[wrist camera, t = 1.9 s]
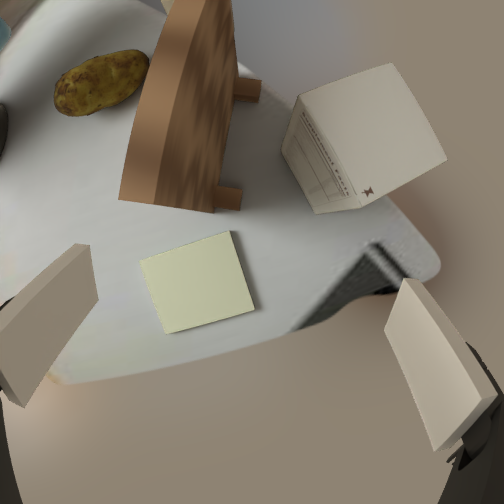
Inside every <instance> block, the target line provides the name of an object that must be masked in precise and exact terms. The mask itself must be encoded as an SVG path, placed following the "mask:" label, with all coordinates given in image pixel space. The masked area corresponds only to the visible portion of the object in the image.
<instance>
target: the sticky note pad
mask: <svg viewBox="0 0 504 504" xmlns="http://www.w3.org/2000/svg"><path fill="white" fill-rule="evenodd" d="M139 263H140V266H141V269H142V272H143V275H144V278H145V281H146V284H147V286H148V289H149V292H150V295H151V297H152V300H153V303H154V305H155V308H156V311H157V313H158V316H159V318H160V321H161V324H162V326H163V329H164V331H165V333H166V334H169V333H173V332H177V331H181V330H185V329H188V328H192V327H196V326H200V325H203V324H207V323H211V322H214V321H218V320H221V319H225V318H228V317H232V316H235V315H239V314H242V313H246V312H249V311H252V310H255V307H254V304H253V301H252V298H251V295H250V292H249V289H248V286H247V283H246V279H245V276H244V273H243V270H242V267H241V264H240V261H239V258H238V255H237V252H236V249H235V246H234V243H233V240H232V236H231V233H230V231H227V232H223V233H220V234H217V235H214V236H211V237H208V238H205V239H202V240H199V241H196V242H193V243H190V244H187V245H184V246H181V247H178V248H175V249H172V250H169V251H166V252H163V253H160V254H157V255H155V256H152V257H149V258H146V259H143V260H140V261H139Z"/></svg>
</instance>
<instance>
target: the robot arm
mask: <svg viewBox="0 0 504 504" xmlns="http://www.w3.org/2000/svg"><path fill="white" fill-rule="evenodd" d="M10 36H11V29H10V27H9V26H8V25H7V24H6V22H5V21H4V20H3V19H2V18H1V17H0V51H1V50H2V48H3V47H4V46H5V44H6V43H7V42H8V40H9V38H10ZM7 127H8V118H7V113H6V110H5V108H4V107H3V106H2V105H1V104H0V155H1V153H2V150H3V147H4V144H5V140H6V135H7ZM97 302H98V294H97V289H96V284H95V278H94V272H93V266H92V259H91V252H90V245H83V244H74V245H73V246H72V247H71V248H69V249H68V250H67V251H66V252H65V253H63V254H62V255H61V256H60V257H59V258H57V259H56V260H55V261H54V262H53V263H52V264H50V265H49V266H48V267H47V268H46V269H45V270H43V271H42V272H41V273H40V274H39V275H38V276H37V277H36V278H34V279H33V280H32V281H31V282H30V283H29V284H28V285H27V286H26V287H25V288H24V289H23V290H21V291H20V292H19V293H18V294H17V295H16V296H15V297H13V298H11V299H9V300H8V301H6V302H5V303H4V304H3V305H2V306H1V307H0V391H1V390H3V392H4V393H5V395H6V396H7V397H8V399H9V401H11V402H13V403H15V404H17V405H19V406H21V407H23V408H25V406H26V405H27V403H28V401H29V400H30V398H31V396H32V395H33V393H34V391H35V390H36V388H37V387H38V385H39V384H40V382H41V381H42V379H43V377H44V376H45V374H46V373H47V371H48V370H49V368H50V367H51V365H52V364H53V362H54V361H55V359H56V358H57V357H58V355H59V354H60V352H61V351H62V349H63V348H64V346H65V345H66V344H67V342H68V341H69V339H70V338H71V337H72V335H73V334H74V332H75V331H76V330H77V328H78V327H79V325H80V324H81V323H82V321H83V320H84V319H85V317H86V316H87V315H88V313H89V312H90V311H91V309H92V308H93V307H94V305H95V304H96V303H97ZM384 331H385V333H386V336H387V338H388V340H389V342H390V344H391V346H392V348H393V351H394V353H395V355H396V357H397V360H398V362H399V364H400V366H401V368H402V371H403V373H404V376H405V378H406V380H407V383H408V385H409V387H410V390H411V392H412V395H413V397H414V400H415V402H416V405H417V407H418V410H419V412H420V414H421V418H422V420H423V423H424V425H425V428H426V431H427V434H428V436H429V439H430V442H431V445H432V448H433V450H434V452H437V451H441V450H444V449H447V448H451V447H452V446H453V445H454V444H455V443H456V442H457V441H458V440H459V439H460V438H462V440H463V443H464V444H463V445H462V446H461V447H460V448H459V449H458V450H457V451H456V452H454V453H453V454H452V455H451V456H450V457H449V458H448V460H447V463H449V462H450V461H451V460H452V459H454V458H455V457H456V459H455V462H454V463H452V465H453V468H452V470H451V473H450V475H449V478H448V481H447V483H446V486H445V488H444V490H443V493H442V495H441V497H440V500H439V502H438V504H504V394H503V392H502V391H501V389H500V387H499V386H498V384H497V382H496V381H495V379H494V378H493V376H492V374H491V373H490V371H489V370H487V367H486V365H485V364H484V362H482V359H481V357H480V356H479V354H478V353H477V352H476V350H475V349H474V348H472V346H470V345H469V344H468V343H467V342H465V341H464V340H463V339H462V337H461V336H460V334H459V333H458V331H457V330H456V328H455V327H454V326H453V324H452V323H451V322H450V320H449V319H448V317H447V316H446V315H445V313H444V312H443V311H442V309H441V308H440V307H439V305H438V304H437V303H436V301H435V300H434V299H433V297H432V296H431V295H430V294H429V292H428V291H427V290H426V289H425V287H424V286H423V285H422V283H421V282H420V281H419V280H418V279H409V278H404V279H403V281H402V284H401V287H400V290H399V293H398V296H397V298H396V301H395V303H394V306H393V309H392V311H391V314H390V317H389V319H388V321H387V324H386V326H385V329H384ZM0 504H23V503H22V500H21V497H20V494H19V490H18V487H17V483H16V479H15V475H14V471H13V468H12V463H11V458H10V454H9V449H8V443H7V438H6V432H5V425H4V418H3V410H2V402H1V398H0Z"/></svg>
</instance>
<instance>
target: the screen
mask: <svg viewBox="0 0 504 504" xmlns="http://www.w3.org/2000/svg"><path fill="white" fill-rule="evenodd" d="M261 81H262V80H255V79H248V78H239V73H238V65H237V57H236V48H235V40H234V32H233V23H232V15H231V7H230V0H174V3H173V5H172V7H171V10H170V12H169V14H168V17H167V19H166V22H165V24H164V27H163V30H162V32H161V35H160V38H159V40H158V43H157V46H156V49H155V52H154V54H153V57H152V60H151V63H150V67H149V70H148V73H147V76H146V79H145V83H144V86H143V89H142V93H141V96H140V100H139V104H138V107H137V111H136V115H135V119H134V123H133V127H132V131H131V135H130V140H129V144H128V149H127V154H126V159H125V164H124V169H123V174H122V180H121V186H120V192H119V198H118V200H125V201H132V202H139V203H146V204H153V205H160V206H167V207H174V208H181V209H187V210H194V211H200V212H207V213H213V214H214V209H215V207H218V208H225V209H231V210H237V211H240V205H241V199H242V193H243V191H242V189H236V188H229V187H223V186H218V185H219V180H220V174H221V168H222V163H223V157H224V152H225V146H226V141H227V136H228V131H229V126H230V121H231V116H232V111H233V106H234V101H235V100H240V101H248V102H255V103H258V102H259V96H260V91H261Z"/></svg>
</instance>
